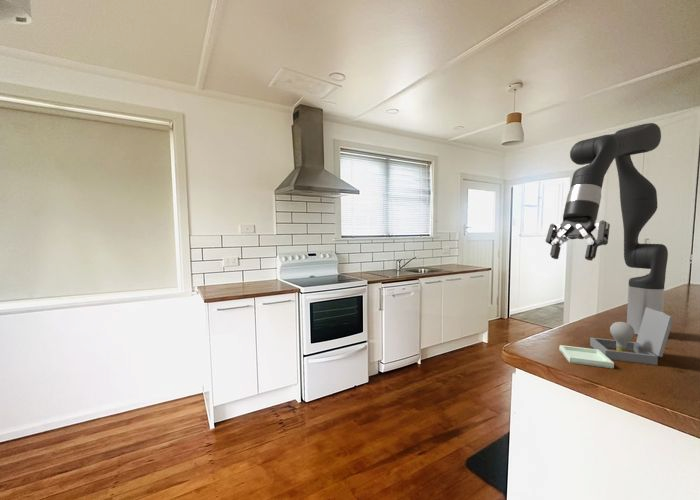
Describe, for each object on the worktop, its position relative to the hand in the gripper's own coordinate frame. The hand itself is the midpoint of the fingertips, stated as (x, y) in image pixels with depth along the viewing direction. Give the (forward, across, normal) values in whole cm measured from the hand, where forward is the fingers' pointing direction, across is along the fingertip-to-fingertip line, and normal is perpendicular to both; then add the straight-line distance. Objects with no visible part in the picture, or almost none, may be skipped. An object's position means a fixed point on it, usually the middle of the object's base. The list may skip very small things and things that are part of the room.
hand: (570, 259), depth 80 cm
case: (+21, -1, -32) cm, 38 cm away
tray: (+25, +2, -19) cm, 31 cm away
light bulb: (+21, -1, -32) cm, 38 cm away
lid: (+12, -6, -34) cm, 36 cm away
